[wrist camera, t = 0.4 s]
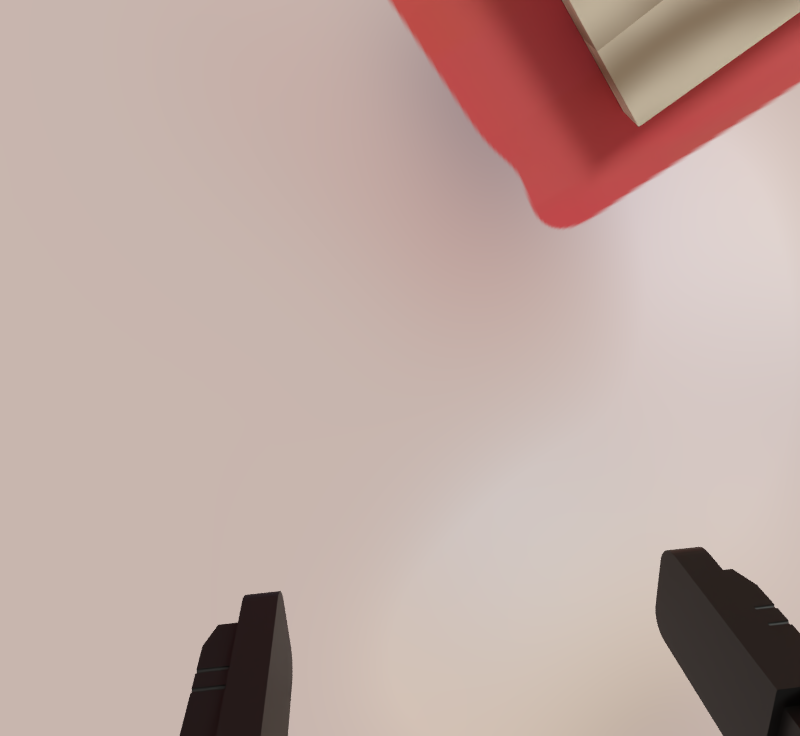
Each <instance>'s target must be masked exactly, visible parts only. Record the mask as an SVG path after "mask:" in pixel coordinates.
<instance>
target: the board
mask: <svg viewBox="0 0 800 736" xmlns="http://www.w3.org/2000/svg"><path fill="white" fill-rule="evenodd" d="M562 2H563V3H564V5H565V7H566V9H567V11H568V13H569V14H570V16H571V18H572V20H573V22H574V23H575V25H576V27H577V29H578V31H579V32H580V34H581V36H582V38H583V40H584V41H585V43H586V45H587V47H588V49H589V50H590V52H591V54H592V56H593V58H594V59H595V61H596V63H597V65H598V67H599V68H600V70H601V72H602V74H603V76H604V77H605V79H606V81H607V83H608V85H609V86H610V88H611V90H612V92H613V94H614V95H615V97H616V99H617V101H618V103H619V104H620V106H621V108H622V110H623V112H624V113H625V114H626V115H627V116H628V117H629V118H630V119H631V120H632V121H633V122H634V123H635V124H636V125H637V126H638V127H639V126H641V125H642V124H644V123H645V122H646V121H648V120H649V119H651V118H652V117H653V116H655V115H656V114H658V113H659V112H660V111H662V110H663V109H665V108H666V107H667V106H669V105H670V104H672V103H673V102H674V101H676V100H677V99H679V98H680V97H681V96H683V95H684V94H686V93H687V92H688V91H690V90H691V89H693V88H694V87H695V86H697V85H698V84H700V83H701V82H702V81H704V80H705V79H707V78H708V77H709V76H711V75H712V74H714V73H715V72H716V71H718V70H719V69H721V68H722V67H723V66H725V65H726V64H728V63H729V62H730V61H732V60H733V59H735V58H736V57H737V56H739V55H740V54H742V53H743V52H744V51H746V50H747V49H749V48H750V47H751V46H753V45H754V44H756V43H757V42H758V41H760V40H761V39H763V38H764V37H765V36H767V35H768V34H770V33H771V32H772V31H774V30H775V29H777V28H778V27H779V26H781V25H782V24H784V23H785V22H786V21H788V20H789V19H791V18H792V17H793V16H795V15H796V14H798V13H799V12H800V0H562Z"/></svg>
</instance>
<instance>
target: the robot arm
mask: <svg viewBox="0 0 800 736" xmlns="http://www.w3.org/2000/svg"><path fill="white" fill-rule="evenodd" d="M656 619H657V624H658V627H659V630H660V633H661V635H662V637H663V639H664V641H665V643H666V644H667V646H668V647H669V649H670V651H671V652H672V654H673V655H674V657H675V658H676V660H677V662H678V663H679V665H680V667H681V668H682V670H683V672H684V673H685V675H686V676H687V678H688V680H689V681H690V683H691V684H692V686H693V688H694V689H695V691H696V692H697V694H698V695H699V697H700V699H701V700H702V702H703V704H704V705H705V707H706V709H707V710H708V712H709V714H710V715H711V717H712V718H713V720H714V722H715V723H716V725H717V726H718V728H719V730H720V731H721V733H722V734H723V736H800V633H799V632H798V631H797V630H796V628H795V627H794V626H793V625H790V624H789V623H788V619H787V618H786V617H785V616H784V615H783V614H782V613H781V612H780V611H779V609H778V608H775V607H774V604H773V603H772V601H771V600H770V599H769V598H768V597H767V596H766V595H765V594H764V592H763V591H762V590H761V589H760V588H759V587H758V586H757V585H756V584H755V583H753V582H751V581H750V580H748V579H747V578H745V577H744V576H742V575H740V574H739V573H737V572H736V571H734V570H733V569H730V570H722V568H721V567H720V566H719V565H718V564H717V562H716V561H715V560H714V559H713V558H712V557H711V555H710V554H709V553H708V552H707V551H706V550H705V549H704V548H702V547H695V548H686V549H676V550H667V551H664V553H663V554H662V557H661V564H660V573H659V581H658V590H657V598H656ZM291 689H292V653H291V645H290V639H289V632H288V626H287V620H286V614H285V607H284V601H283V596H282V593H281V591H278V592H269V593H260V594H250V595H245V596H244V598H243V601H242V606H241V611H240V616H239V621H238V623H232V624H222V625H218V626H217V627H216V629H215V630H214V631H213V633H212V634H211V636H210V637H209V638H208V640H207V641H206V642H205V644H204V645H203V647H202V651H201V654H200V658H199V662H198V666H197V674H195V678H194V682H193V686H192V693H191V694H190V697H189V701H188V705H187V709H186V713H185V717H184V721H183V725H182V729H181V733H180V736H288V725H289V713H290V701H291Z"/></svg>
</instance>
